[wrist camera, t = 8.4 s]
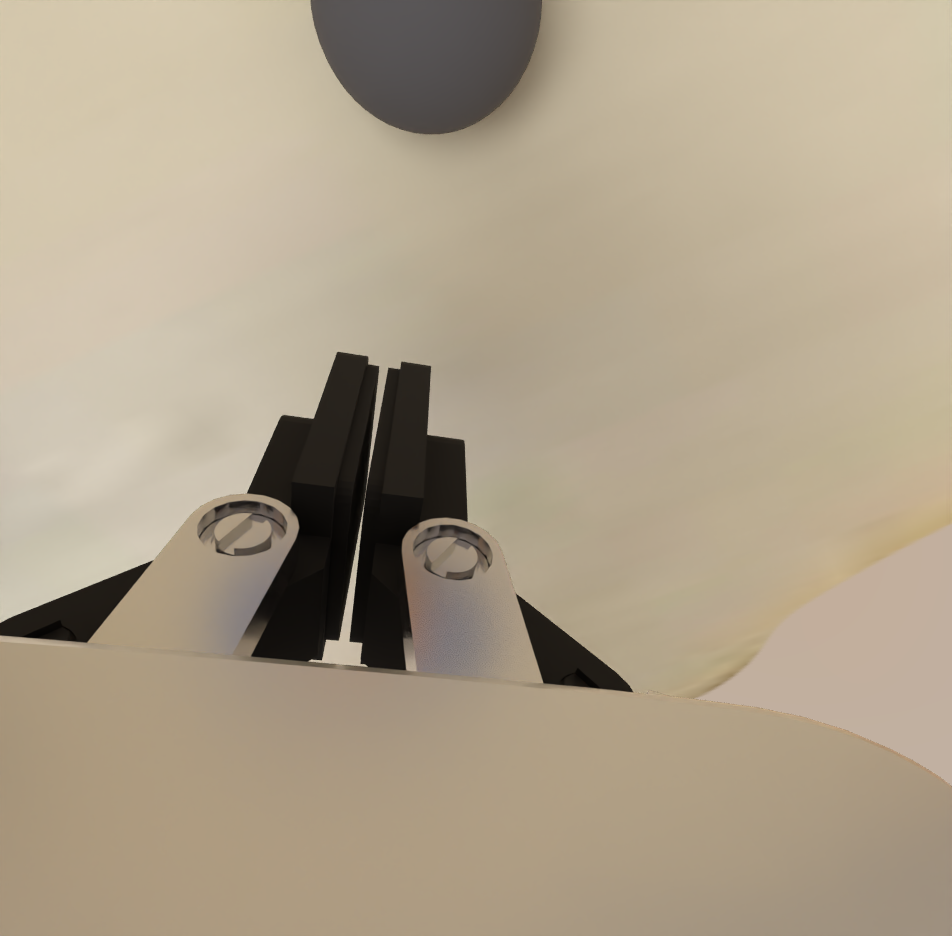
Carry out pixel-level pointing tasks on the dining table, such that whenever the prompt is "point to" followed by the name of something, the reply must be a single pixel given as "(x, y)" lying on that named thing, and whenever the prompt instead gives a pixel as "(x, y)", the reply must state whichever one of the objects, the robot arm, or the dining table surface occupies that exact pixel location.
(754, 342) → the dining table surface
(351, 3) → the dark grey ball
